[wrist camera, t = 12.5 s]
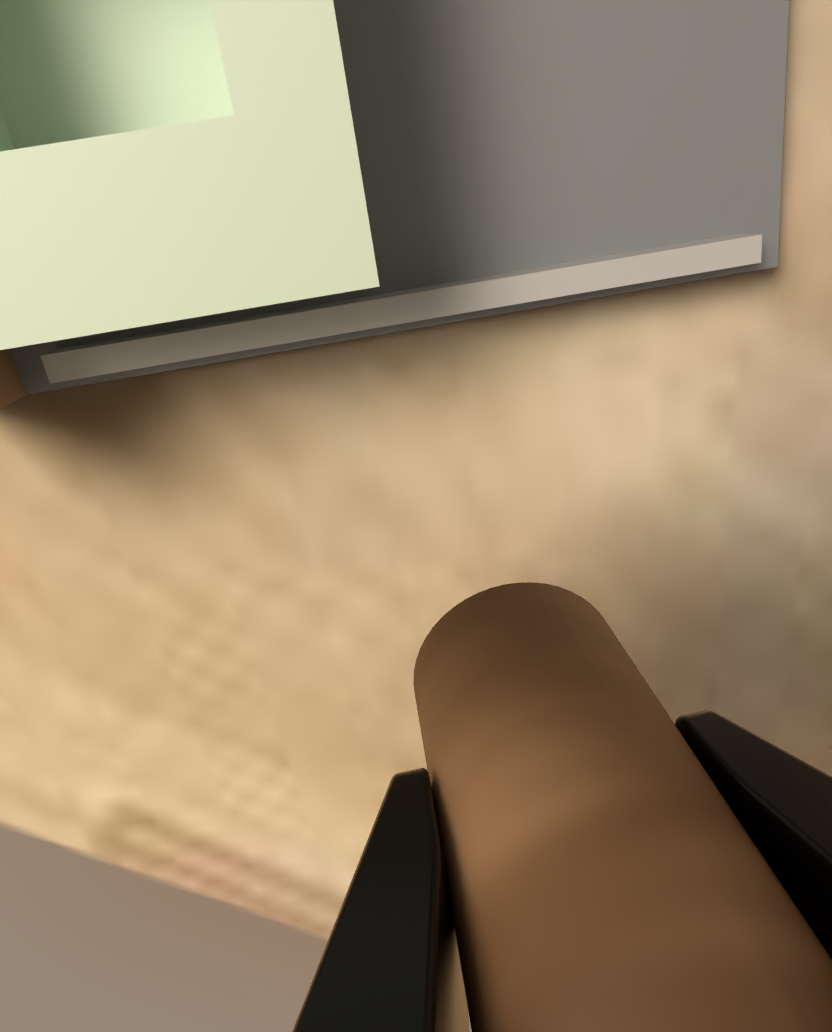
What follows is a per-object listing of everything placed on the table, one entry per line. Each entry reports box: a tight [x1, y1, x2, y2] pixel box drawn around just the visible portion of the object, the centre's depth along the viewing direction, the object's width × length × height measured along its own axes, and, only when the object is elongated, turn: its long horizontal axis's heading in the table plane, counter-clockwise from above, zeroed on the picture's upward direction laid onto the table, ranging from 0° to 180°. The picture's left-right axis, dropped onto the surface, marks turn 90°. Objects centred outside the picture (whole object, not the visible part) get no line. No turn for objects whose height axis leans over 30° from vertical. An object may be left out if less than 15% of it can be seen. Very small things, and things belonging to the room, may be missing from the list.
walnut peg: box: [414, 583, 832, 1032], centre depth 7 cm, size 3×3×8 cm
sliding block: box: [0, 0, 380, 350], centre depth 12 cm, size 8×10×5 cm
